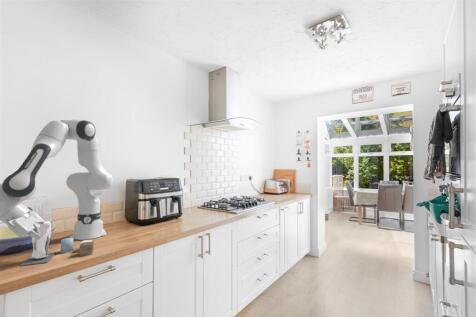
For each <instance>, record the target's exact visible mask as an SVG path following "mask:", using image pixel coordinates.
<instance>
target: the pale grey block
mask: <svg viewBox="0 0 476 317" xmlns="http://www.w3.org/2000/svg"><path fill="white" fill-rule="evenodd" d="M92 241H93V239H85V240H81V242H80V243H79V245H80V244H81V243H82V242H92Z"/></svg>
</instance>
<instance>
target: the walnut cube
mask: <svg viewBox="0 0 476 317" xmlns="http://www.w3.org/2000/svg"><path fill="white" fill-rule="evenodd" d="M81 242H82V241H81ZM81 242H80V243H81ZM94 242H95V241H93V240H92V242H82V243H81V244H80V243H79V254H78V256H79V257H82V256H91V255H93V253H94V251H95V250H94V248H95V246H94V245H95V243H94Z"/></svg>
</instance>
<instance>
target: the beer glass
mask: <svg viewBox="0 0 476 317" xmlns="http://www.w3.org/2000/svg"><path fill="white" fill-rule="evenodd" d="M36 223H38V224H34V226H35V229H33V230H34V231H35V232H36V233H38V234H40V235H41V236H42V237H41V238H40V239H39V240H37V239H35V238H33V237H31V242H32V254H31V256H32V257H31V256H30V257H31V258H32V259H39V258H44V257H47V256H49V254H50V250H49V245H50V242H51V238H52V233H53V222H52V221H49V220H44V221H42V222H36Z"/></svg>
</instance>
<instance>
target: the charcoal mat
mask: <svg viewBox="0 0 476 317" xmlns="http://www.w3.org/2000/svg"><path fill="white" fill-rule="evenodd" d="M55 255H56V252H51V253H50V252H49V256H47V257H44V258H39V259H32V258H31V257H32V255H31V256H29V257H28V258H27V259H26V260H24V262H22V263H21V264H20V265H19V266H20V267H24V266H34V265H42V264H47V263H49V262H50V260H51V259H52V258H53V257H54V256H55Z"/></svg>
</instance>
